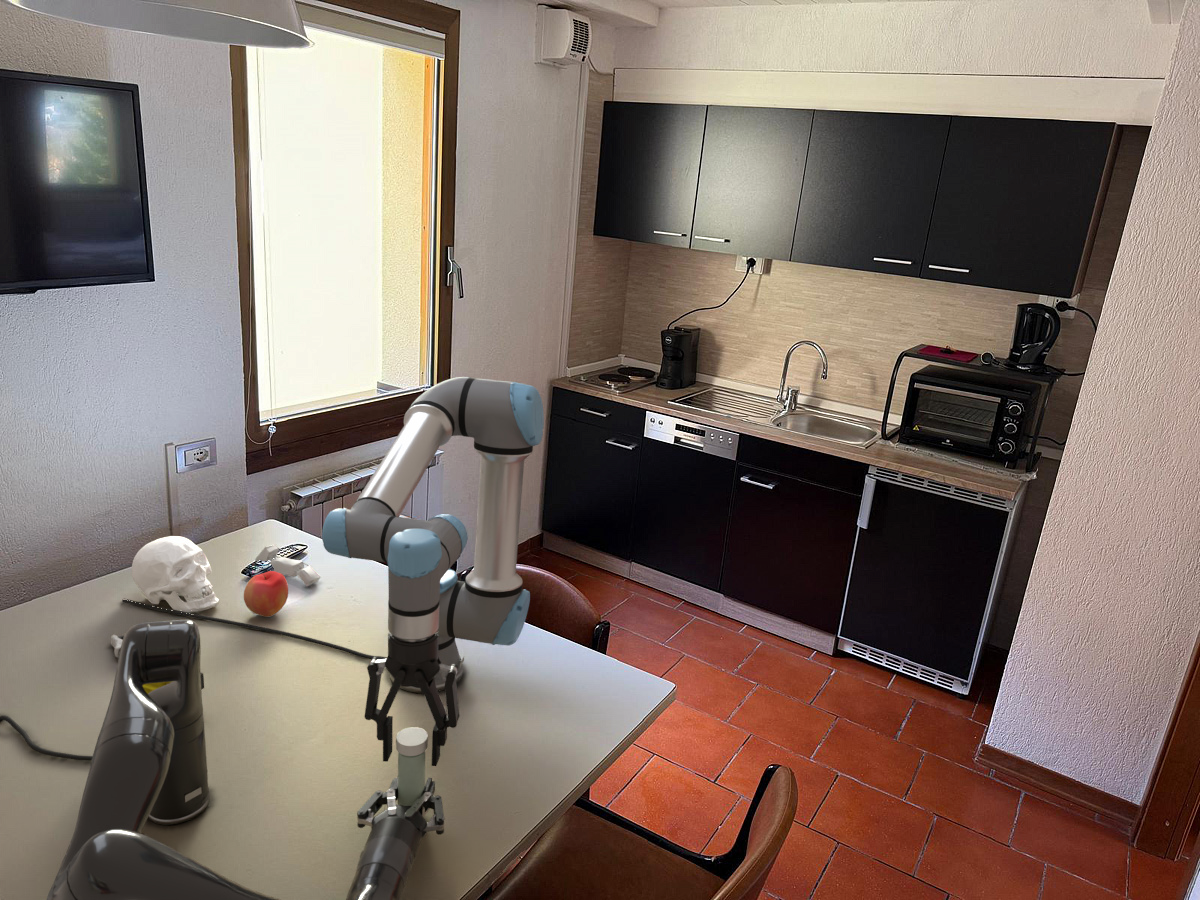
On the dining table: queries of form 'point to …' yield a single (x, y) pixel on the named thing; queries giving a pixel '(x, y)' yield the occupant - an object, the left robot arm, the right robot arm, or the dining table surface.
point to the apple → (266, 593)
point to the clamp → (288, 565)
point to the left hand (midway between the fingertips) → (415, 781)
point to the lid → (411, 741)
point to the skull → (174, 574)
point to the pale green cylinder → (410, 778)
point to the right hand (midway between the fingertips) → (411, 758)
